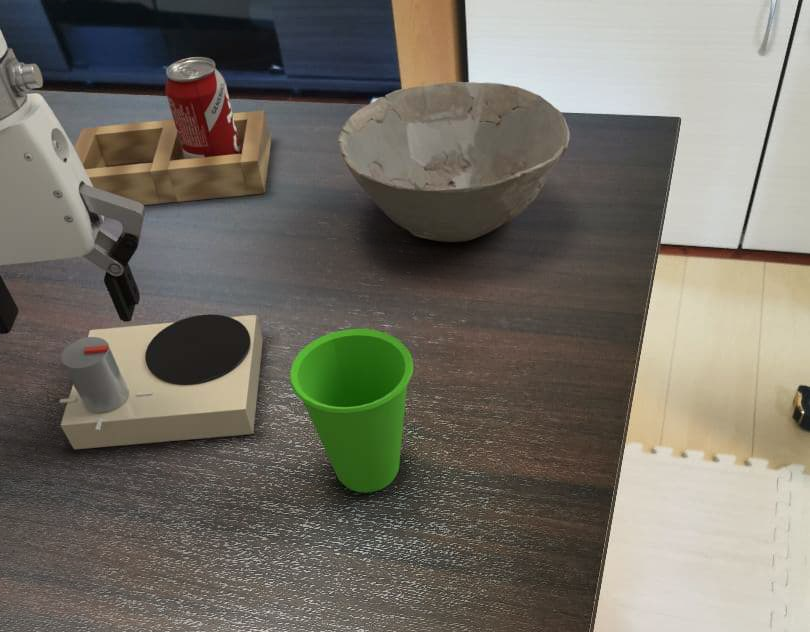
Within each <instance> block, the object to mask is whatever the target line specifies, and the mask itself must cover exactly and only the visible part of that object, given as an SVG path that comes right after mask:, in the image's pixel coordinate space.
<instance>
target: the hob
mask: <svg viewBox="0 0 810 632" xmlns="http://www.w3.org/2000/svg"><path fill="white" fill-rule="evenodd" d="M229 317H230V318H233V319H235V320H237V321H239V322H240V323H242V324H243V325H244V326H245V327H246V329H247V330H248V332H249V335H250V339H251V346H250V350H249V352H248V354H247V356H246V358H245V359H244V360H243V362H242V363H241V364H240V365H239V366H238V367H236V368H235V369H234V370H232V371H231V372H229V373H228V374H226V375H224V376H222V377H220V378H218V379H215V380H212V381H209V382H206V383H201V384H194V385H177V384H171V383H167V382H164V381H162V380H160V379H158V378H157V377H155V376H154V375H153V374H152V373H151V372H150V371H149V369H148V367H147V364H146V361H145V354H146V350H147V347H148V345H149V343H150V342H151V341H152V339H153V338H154V337H155V336H156V335H157V334H158V333H159V332H160V331H162V330H163V329H164V328H166V327H168V326H169V325H171V324H173V323H175V322H176V321H174V322H172V321H171V322H162V323H152V324H141V325H130V326H120V327H119V326H118V327H107V328H97V329H90V330H89V332H88V335H87V337H99V338H102V339H104V340H105V341H107V343H108V344H109V346H110V349H111V351H112V353H113V355H114V358H115V360H116V362H117V364H118V367H119V369H120V371H121V373H122V376H123V378H124V380H125V382H126V384H127V387H128V389H129V396H128V398H127V400H126V401H125V402H124V404H122V405H121V406H120V407H118V408H117V409H115V410H112V411H109V412H105V413H95V412H91V411H89V410H87V409H86V408H85V406H84V404H83V402H82V401H81V399H80V397H79V395H78V393H77V391H76V389H75V387H74V385H73V384H72V387H71V390H70V393H69V396H68V398H60V399H59V403H60V404H66V405H65V409H64V412H63V416H62V419H61V422H60V427H61V429H62V431H63V433H64V434H65V436H66V438H67V440H68V442H69V444H70V445H71V447H72V448H73V450H84V449H85V450H86V449H94V448H109V447H120V446H129V445H142V444H154V443H165V442H177V441H187V440H188V441H189V440H190V441H191V440H200V439H210V438H211V439H212V438H224V437H234V436H235V437H237V436H246V435H247V436H248V435H253V434H254V432H255V431H254V430H255V420H256V411H257V400H258V391H259V382H260V371H261V362H262V352H263V343H264V338H263V335H262V331H261V327H260V323H259V319H258V316H257V314H250V315H239V316H238V315H237V316H229Z"/></svg>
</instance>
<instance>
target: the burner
mask: <svg viewBox="0 0 810 632" xmlns="http://www.w3.org/2000/svg"><path fill="white" fill-rule="evenodd" d="M230 317H231V316H227V315H223V314H198V315H194V316H189V317H185V318H182V319H179V320H177V321H174V322H175V323H173V324H171V325H169V326H168V327H166V328H164V329H163V330H162V331H160V332H159V333H158V334H157V335H156V336H155V337H154V338H153V339H152V341H151V342H150V343H149V345H148V347H147V350H146V354H145V361H146V364H147V367H148V369H149V371H150V372H151V373H152V374H153V375H154V376H155V377H157V378H158V379H160V380H162V381H164V382H167V383H171V384H177V385H194V384H201V383H206V382H209V381H212V380H215V379H218V378H220V377H222V376H224V375H226V374H228V373H229V372H231V371H232V370H234V369H235V368H236V367H238V366H239V365H240V364H241V363H242V362H243V360H244V359H245V358H246V356H247V354H248V352H249V350H250V346H251V339H250V335H249V332H248V330H247V329H246V327H245V326H244V325H243V324H242V323H240V322H239V321H237V320H235V319H233V318H230Z"/></svg>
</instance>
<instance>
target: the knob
mask: <svg viewBox="0 0 810 632" xmlns="http://www.w3.org/2000/svg"><path fill="white" fill-rule="evenodd" d="M60 362H61V363H62V365H63V367H64V369H65V372H66V373H67V375H68V377H69V379H70V381H71V383H72V386H73V385H74V387H75V389H76V391H77V393H78V395H79V397H80V399H81V401H82V402H83V404H84V406H85V408H86V409H87V410H89V411H91V412H95V413H105V412H109V411H112V410H115V409H117V408H118V407H120V406H121V405H122V404H124V402H125V401H126V400H127V398H128V396H129V389H128V387H127V384H126V382H125V380H124V378H123V376H122V373H121V371H120V369H119V367H118V364H117V362H116V360H115V358H114V355H113V353H112V351H111V349H110V346H109V344H108V343H107V341H105V340H104V339H102V338H99V337H88V336H87V337H82V338H80V339H76V340H74V341H72V342H71V343H70V344H68V345H66V347H65V348H64V349H63V350H62V352H61V354H60Z"/></svg>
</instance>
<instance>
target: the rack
mask: <svg viewBox="0 0 810 632" xmlns="http://www.w3.org/2000/svg"><path fill="white" fill-rule="evenodd" d="M232 113H233V117H234V121H235V125H236V130H237V134H238V138H239V142H240V146H241V151H242V154H233V155H223V156H213V157H203V158H193V159H185V157H184V153H183V150H182V146H181V143H180V139H179V136H178V133H177V129H176V126H175V122H174V119H173V118H172V119H164V120H163V119H162V120H152V121H145V122H144V121H142V122H134V123H133V122H132V123H124V124H113V125H103V126H93V127H83V128H82V129H81V131H80V133H79V135H78V138H77V140H76V143H75V145H74V146H73V147H74V149H75V151H76V153H77V155H78V157H79V159H80V161H81V163H82V165H83V167H84V169H85V171H86V172H87V175H88V177H89V179H90V181H91V183H92V185H93V187H94V188H97V189H100V190H103V191H106V192H109V193H112V194H115V195H119V196H122V197H125V198H128V199H131V200H134V201H137V202H140V203H142V204H143V205H144V206H148V205H158V204H159V205H160V204H169V203H180V202H190V201H201V200H212V199H220V198H221V199H222V198H231V197H241V196H243V197H244V196H250V195H262V194H265V193H266V187H267V186H266V185H267V177H268V169H269V162H270V155H271V147H272V146H271V145H272V139H271V135H270V131H269V126H268V125H269V124H268V120H267V115H266V111H265V109H262V110H251V111H241V112H232Z"/></svg>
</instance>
